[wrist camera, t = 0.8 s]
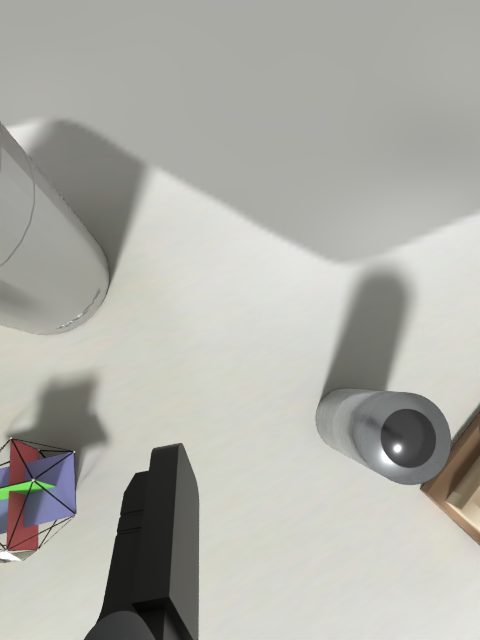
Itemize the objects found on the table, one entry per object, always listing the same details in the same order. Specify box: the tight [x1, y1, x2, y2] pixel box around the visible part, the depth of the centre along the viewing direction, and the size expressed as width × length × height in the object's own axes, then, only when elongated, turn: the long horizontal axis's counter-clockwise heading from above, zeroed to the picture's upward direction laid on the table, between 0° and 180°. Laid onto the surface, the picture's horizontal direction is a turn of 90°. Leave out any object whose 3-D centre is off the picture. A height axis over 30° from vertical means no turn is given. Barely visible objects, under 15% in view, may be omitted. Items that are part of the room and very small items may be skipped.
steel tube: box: [316, 388, 451, 485], centre depth 27 cm, size 5×5×10 cm
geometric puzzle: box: [0, 437, 77, 563], centre depth 26 cm, size 7×7×8 cm
